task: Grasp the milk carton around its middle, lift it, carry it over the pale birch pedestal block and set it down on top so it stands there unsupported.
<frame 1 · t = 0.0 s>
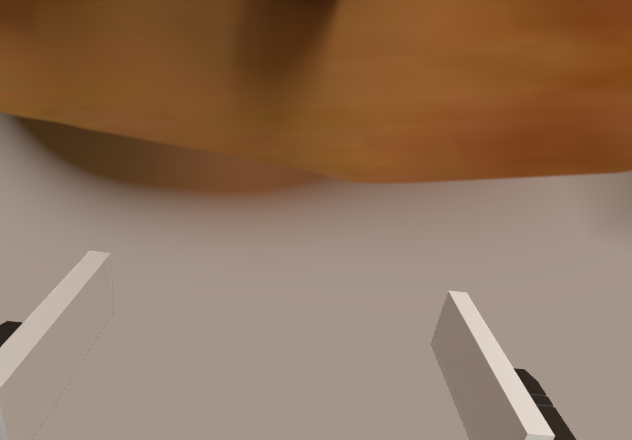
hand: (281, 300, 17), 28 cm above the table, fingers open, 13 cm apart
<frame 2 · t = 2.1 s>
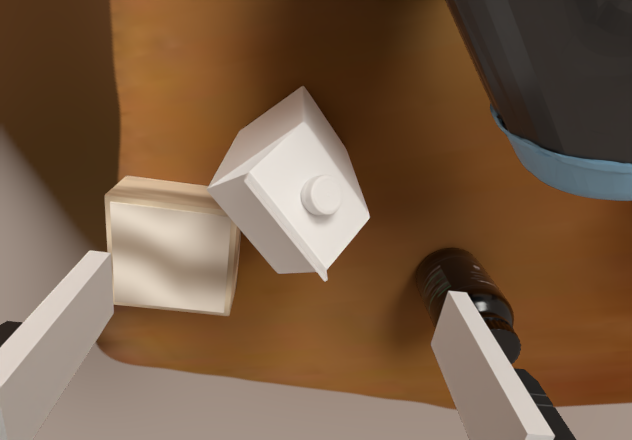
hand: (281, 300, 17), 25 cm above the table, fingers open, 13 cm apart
supplement bottle: (446, 273, 46), on the table
milk carton: (293, 140, 40), on the table
pedestal: (184, 234, 43), on the table
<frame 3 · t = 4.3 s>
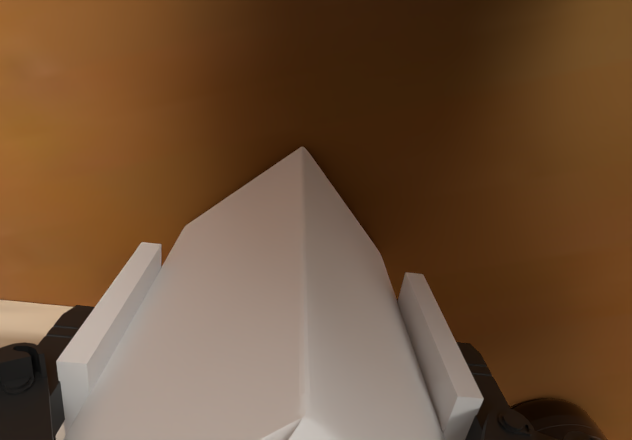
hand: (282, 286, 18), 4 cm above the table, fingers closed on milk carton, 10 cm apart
supplement bottle: (534, 430, 28), on the table
milk carton: (285, 237, 22), on the table, touching gripper
pedestal: (101, 385, 25), on the table
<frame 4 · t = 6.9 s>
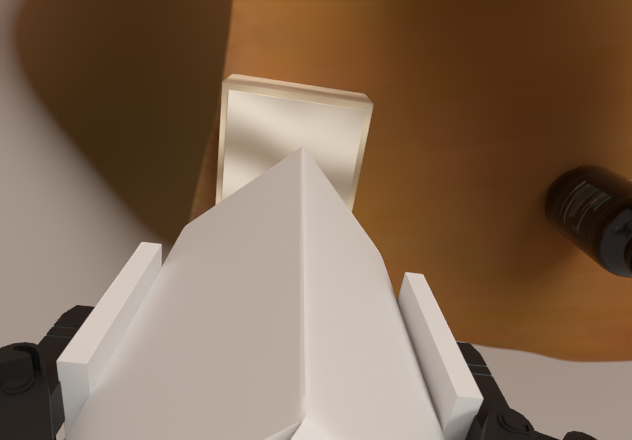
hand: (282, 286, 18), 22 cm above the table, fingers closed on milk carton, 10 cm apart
supplement bottle: (578, 197, 41), on the table
milk carton: (286, 238, 22), point 18 cm above the table, touching gripper
pedestal: (291, 147, 38), on the table
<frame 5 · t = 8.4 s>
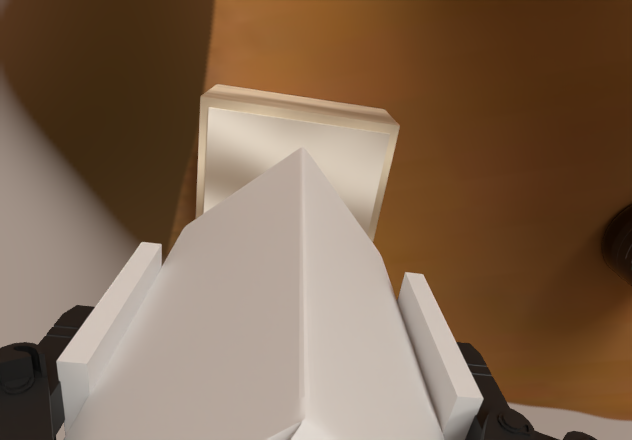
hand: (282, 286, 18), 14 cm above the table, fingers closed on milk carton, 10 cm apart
milk carton: (285, 238, 22), point 9 cm above the table, touching gripper
pedestal: (291, 176, 30), on the table
when the fingers open (11 cm above the table, at t = 9.6 s): milk carton drops 1 cm, resting on pedestal.
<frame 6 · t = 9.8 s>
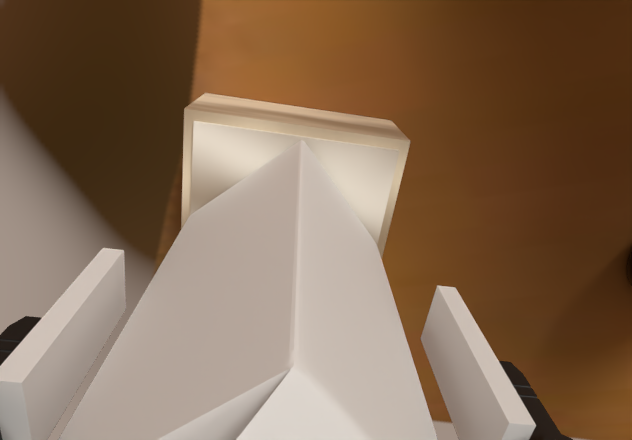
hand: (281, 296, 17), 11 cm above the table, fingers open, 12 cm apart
milk carton: (285, 227, 23), point 5 cm above the table, touching pedestal
pedestal: (288, 193, 28), on the table
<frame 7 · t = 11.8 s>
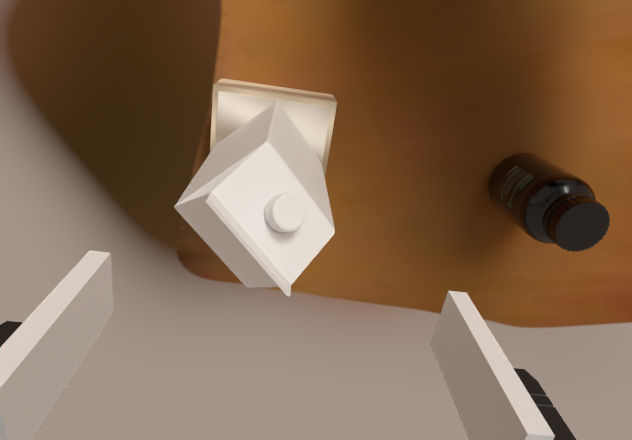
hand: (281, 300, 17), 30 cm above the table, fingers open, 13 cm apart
supplement bottle: (516, 181, 48), on the table
milk carton: (269, 153, 40), point 5 cm above the table, touching pedestal
pedestal: (272, 140, 45), on the table
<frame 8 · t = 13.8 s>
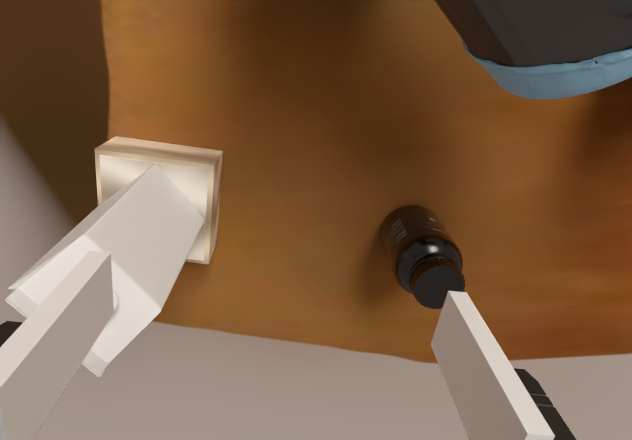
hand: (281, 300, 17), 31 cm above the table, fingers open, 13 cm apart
supplement bottle: (408, 229, 51), on the table
milk carton: (155, 210, 43), point 5 cm above the table, touching pedestal
pedestal: (169, 192, 47), on the table
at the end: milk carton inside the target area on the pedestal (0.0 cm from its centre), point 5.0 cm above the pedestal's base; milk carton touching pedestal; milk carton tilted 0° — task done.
